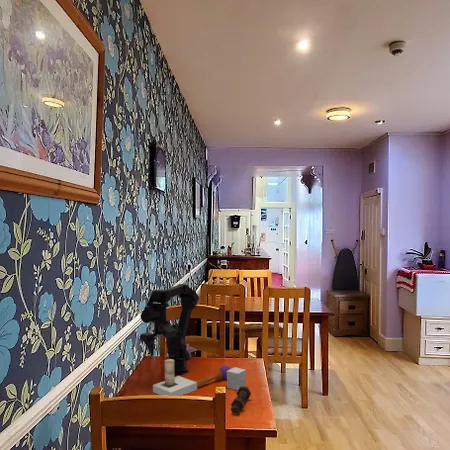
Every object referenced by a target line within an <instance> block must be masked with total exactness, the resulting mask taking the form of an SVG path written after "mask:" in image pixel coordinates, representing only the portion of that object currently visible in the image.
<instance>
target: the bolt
mask: <svg viewBox="0 0 450 450" xmlns="http://www.w3.org/2000/svg"><path fill="white" fill-rule="evenodd" d="M235 395H236V397H234V398H233V400H232V403H231V404H230V405H231V408H230V411H231V413H232V414H235V415H237V414H238V413H239V412H242V410H243V408H244V407H245V401H249V399H250V396H251V395H252V392H251V390H250V389H249V387H248V386H246V387H244V386H242V387H240V388H239V390H238V391H237V392H236V394H235Z"/></svg>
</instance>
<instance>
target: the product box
mask: <svg viewBox="0 0 450 450" xmlns="http://www.w3.org/2000/svg"><path fill="white" fill-rule="evenodd" d="M242 386H244V387H247V370H246V369H243V368H240V367H237V366H235V367H232V368H231V369H230V370H228V371H227V380H226V387H227V388H228V389H231V390H233V391H237V392H238V390H239V388H240V387H242Z"/></svg>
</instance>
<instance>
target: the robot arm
mask: <svg viewBox="0 0 450 450" xmlns="http://www.w3.org/2000/svg"><path fill="white" fill-rule="evenodd" d="M177 296H178V297H179V299H180V306H181V311H180V315H179V319H178V323H176V324H171V325H170V321H169V320H168V319H167V318H168V317H167V316H168V315H167V314H168V313H167V308H168V307H170V304H168V302H170V300H171V298H174V297H177ZM199 300H200V299H199V294H198V293H197V292H196V291H195V290H194V289H193V288H191V287H190V286H189V285H188V284H186V283H185V284H184V283H178V284H176V285H175V286H171V287H169V288H165V289H154V290H152V292H151V294H150V296H149V299H148V301H147V303H146V305H145V306H144V309H142V311H141V313H140V320H141V321H142V322H143V323H145V324H148V323H152V324H153V329H152V331H151V332H143V333H141V334H139V341H142V342H143V343H144V344H145V345H146V347H147V349H148V351H149V354H150V356H152V357H154V353H155V351H154V350H155V349H154V347H155V343H156V341H155V338H158V337H164V338H165V340H166V349H167V356H168V359H173V360H174V375H177V376H180V375H182V374H186V373H188V372H189V370H188V369H187V361H189V359H190V358H191V357H190V354H191V353H190V354H189V353H188V351H187V350H186V347H187V345H186V344H187V342H186V337H187V333H188V328H189V324H190V320H191V315H192V311H193V310H194V309H195V308H196V307H197V305H198V301H199Z"/></svg>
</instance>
